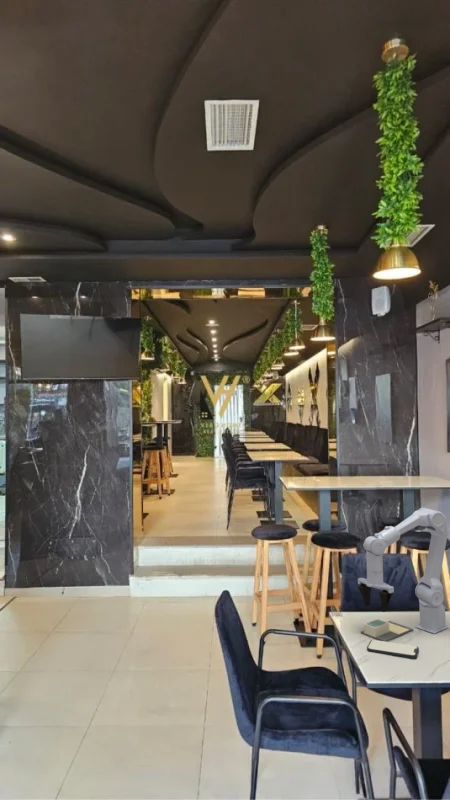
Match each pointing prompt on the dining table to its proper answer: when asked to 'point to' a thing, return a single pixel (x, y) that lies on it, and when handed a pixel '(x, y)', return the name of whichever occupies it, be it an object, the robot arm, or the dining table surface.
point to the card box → (376, 628)
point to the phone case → (393, 649)
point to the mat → (392, 632)
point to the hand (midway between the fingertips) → (375, 608)
